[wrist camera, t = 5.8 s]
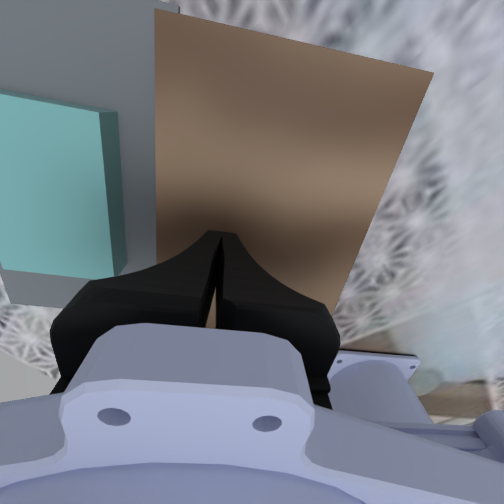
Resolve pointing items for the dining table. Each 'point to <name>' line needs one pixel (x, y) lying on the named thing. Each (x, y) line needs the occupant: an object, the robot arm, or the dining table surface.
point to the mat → (90, 94)
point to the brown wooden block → (274, 147)
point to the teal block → (60, 188)
